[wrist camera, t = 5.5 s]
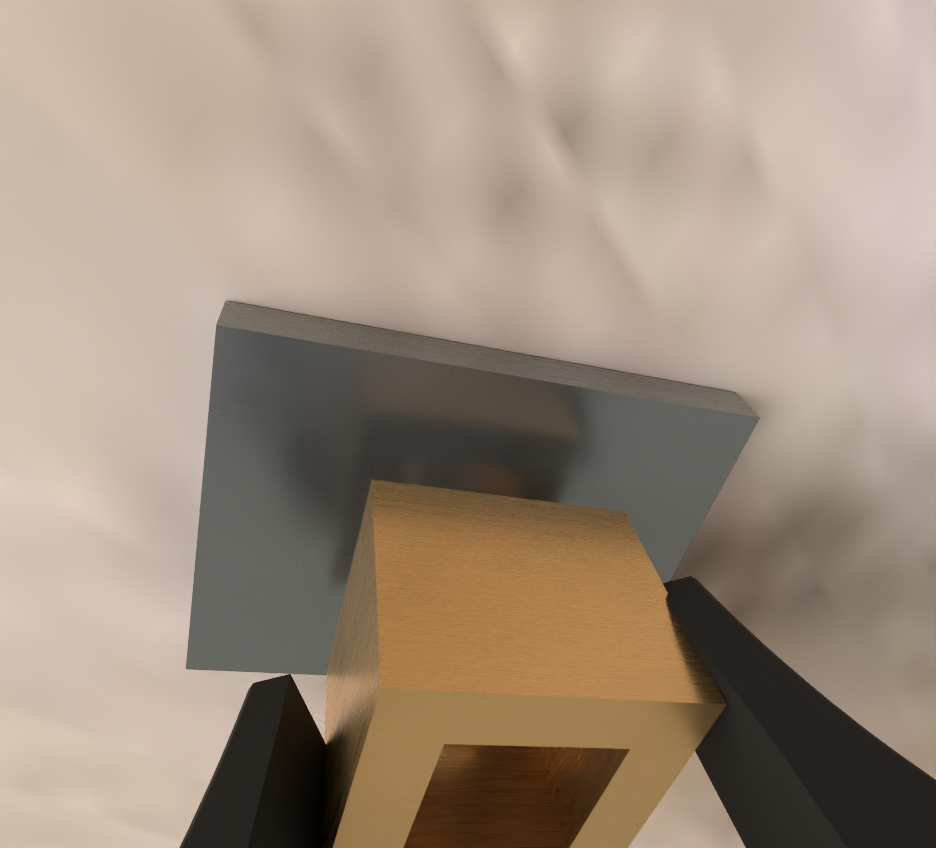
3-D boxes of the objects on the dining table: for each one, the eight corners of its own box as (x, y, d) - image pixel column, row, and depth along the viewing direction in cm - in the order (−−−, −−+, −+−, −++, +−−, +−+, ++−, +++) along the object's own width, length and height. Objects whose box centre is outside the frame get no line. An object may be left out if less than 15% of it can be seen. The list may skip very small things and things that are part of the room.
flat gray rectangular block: (735, 392, 14) (857, 517, 11) (598, 654, 18) (657, 806, 15) (225, 301, 11) (176, 429, 8) (194, 631, 15) (153, 811, 12)
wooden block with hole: (624, 511, 12) (726, 704, 9) (544, 678, 15) (602, 882, 11) (371, 479, 11) (381, 688, 8) (326, 667, 13) (319, 892, 10)
